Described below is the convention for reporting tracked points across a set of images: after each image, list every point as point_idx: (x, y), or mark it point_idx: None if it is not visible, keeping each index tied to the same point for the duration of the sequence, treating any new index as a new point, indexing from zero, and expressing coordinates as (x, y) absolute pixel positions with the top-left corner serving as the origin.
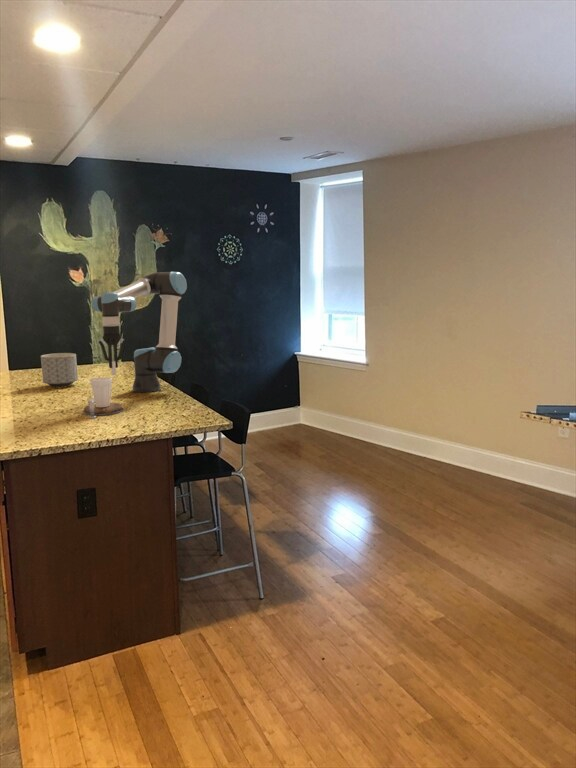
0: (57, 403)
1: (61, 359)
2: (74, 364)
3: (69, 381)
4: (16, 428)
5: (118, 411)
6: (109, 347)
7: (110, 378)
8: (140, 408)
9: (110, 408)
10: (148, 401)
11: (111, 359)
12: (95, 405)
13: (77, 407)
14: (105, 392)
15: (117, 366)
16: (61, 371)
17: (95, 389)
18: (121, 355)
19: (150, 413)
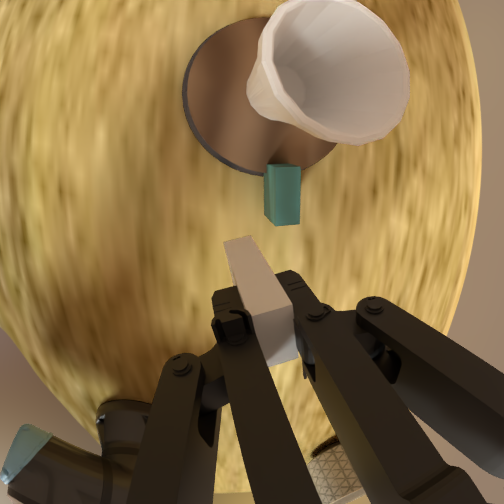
0: (390, 300)
1: (359, 483)
2: (325, 487)
3: (327, 452)
4: (458, 30)
5: (208, 37)
6: (440, 471)
7: (276, 71)
8: (107, 112)
9: (244, 41)
10: (83, 260)
11: (312, 324)
12: (308, 134)
13: (356, 220)
14: (287, 35)
15: (215, 298)
16: (350, 463)
17: (349, 42)
18: (157, 408)
19: (85, 15)
